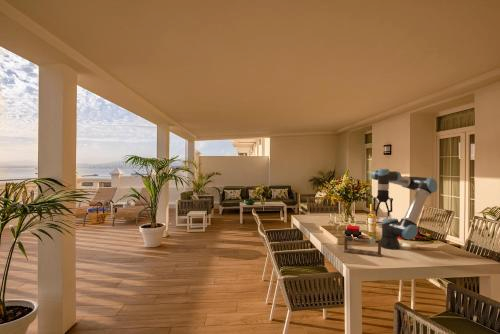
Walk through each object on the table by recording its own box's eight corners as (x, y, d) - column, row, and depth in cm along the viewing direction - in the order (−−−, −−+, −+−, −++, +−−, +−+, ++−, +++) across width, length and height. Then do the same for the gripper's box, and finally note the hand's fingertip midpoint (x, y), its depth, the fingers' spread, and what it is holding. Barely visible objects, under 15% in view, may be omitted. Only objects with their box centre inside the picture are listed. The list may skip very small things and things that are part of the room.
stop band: (354, 240, 230) (354, 236, 230) (354, 241, 227) (354, 237, 227) (352, 240, 230) (353, 236, 230) (352, 241, 227) (352, 237, 227)
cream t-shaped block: (375, 243, 225) (375, 230, 224) (375, 245, 221) (375, 232, 220) (369, 242, 226) (369, 230, 226) (369, 244, 222) (369, 231, 222)
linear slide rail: (380, 253, 225) (381, 238, 225) (380, 257, 218) (381, 241, 217) (344, 249, 235) (345, 235, 235) (343, 252, 228) (344, 237, 227)
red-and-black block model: (343, 230, 262) (345, 224, 285) (343, 240, 262) (345, 233, 285) (360, 232, 256) (361, 226, 279) (360, 242, 256) (361, 235, 280)
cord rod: (379, 243, 223) (379, 239, 223) (379, 244, 220) (379, 240, 220) (346, 239, 232) (346, 235, 232) (345, 240, 229) (345, 236, 229)
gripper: (369, 189, 220) (368, 220, 220) (397, 190, 212) (396, 222, 213) (369, 188, 226) (368, 218, 227) (396, 189, 219) (395, 220, 220)
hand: (382, 220), depth 220 cm, fingers open, 6 cm apart
